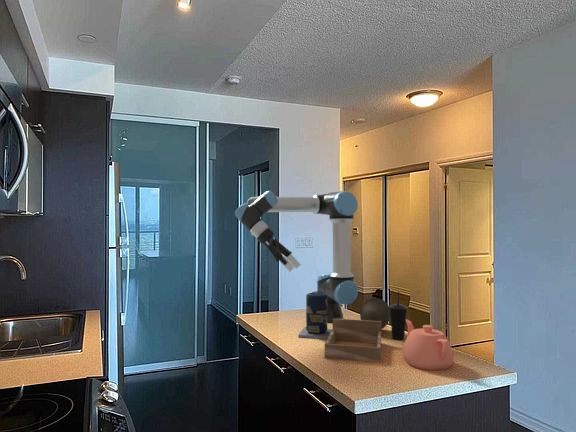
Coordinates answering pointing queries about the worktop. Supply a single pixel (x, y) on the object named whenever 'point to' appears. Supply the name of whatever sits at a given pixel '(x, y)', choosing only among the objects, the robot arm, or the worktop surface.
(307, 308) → the canister
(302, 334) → the slate tile
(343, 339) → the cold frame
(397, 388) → the worktop surface
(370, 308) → the kiwi fruit
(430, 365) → the teapot
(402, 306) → the drinking cup
